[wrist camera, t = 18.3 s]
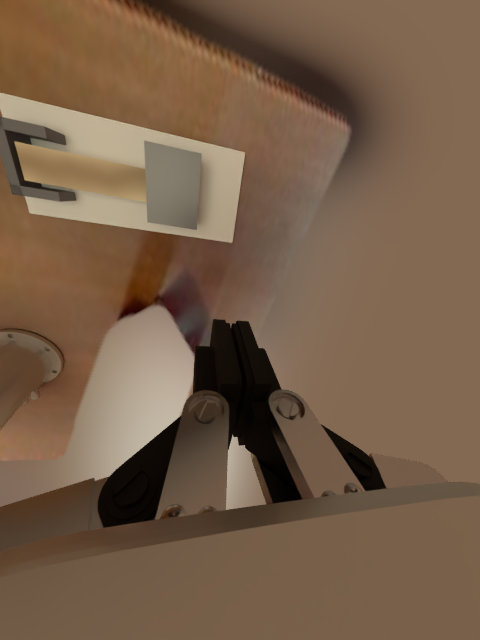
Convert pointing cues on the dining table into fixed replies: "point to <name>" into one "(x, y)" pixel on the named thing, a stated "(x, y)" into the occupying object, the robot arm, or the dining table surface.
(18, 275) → the dining table surface
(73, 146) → the base
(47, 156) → the slat
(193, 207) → the cap
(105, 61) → the dining table surface
